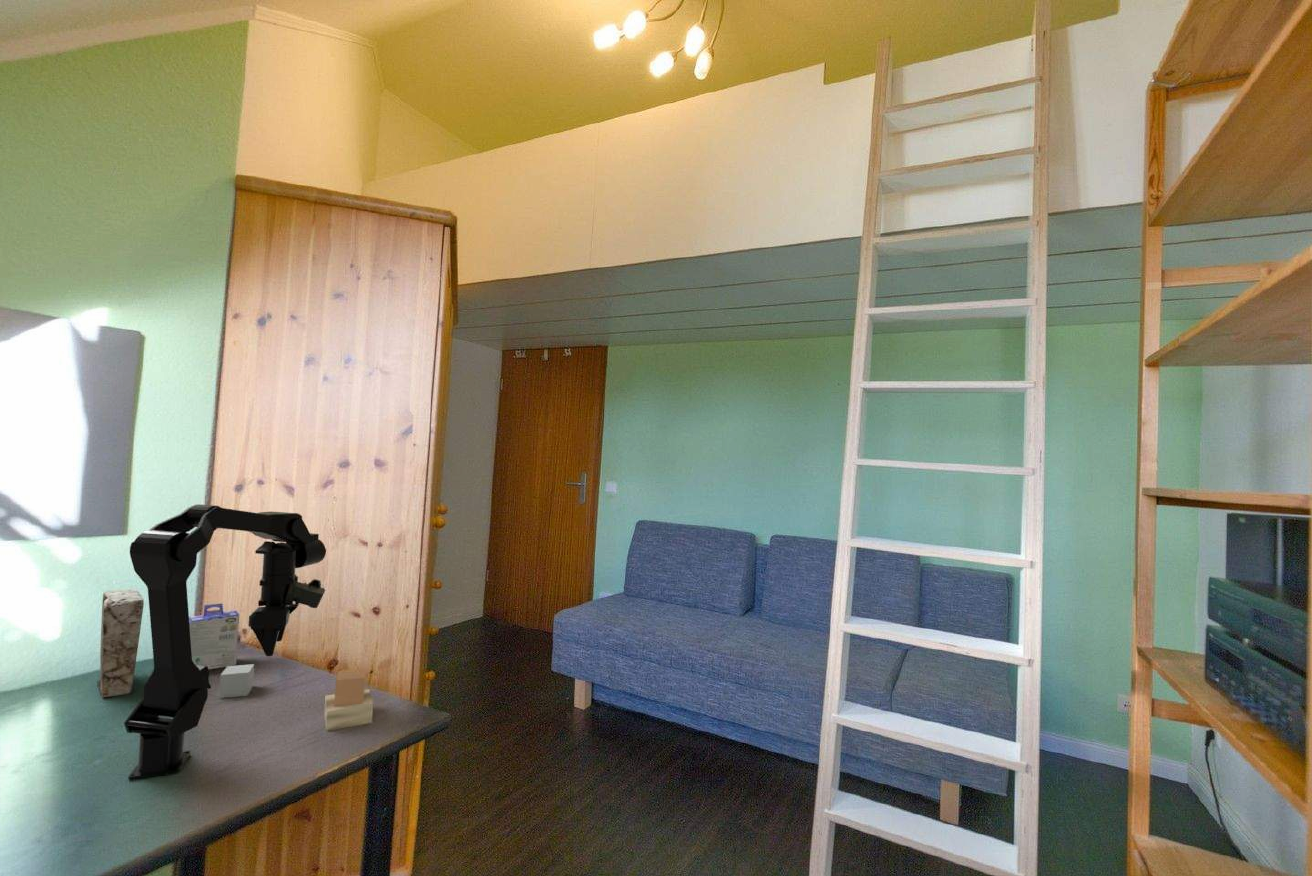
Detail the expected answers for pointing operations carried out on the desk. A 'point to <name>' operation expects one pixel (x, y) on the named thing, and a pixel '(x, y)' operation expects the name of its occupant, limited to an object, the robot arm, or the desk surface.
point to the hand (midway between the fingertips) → (274, 648)
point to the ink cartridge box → (214, 637)
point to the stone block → (119, 640)
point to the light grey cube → (236, 681)
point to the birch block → (348, 712)
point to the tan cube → (350, 687)
